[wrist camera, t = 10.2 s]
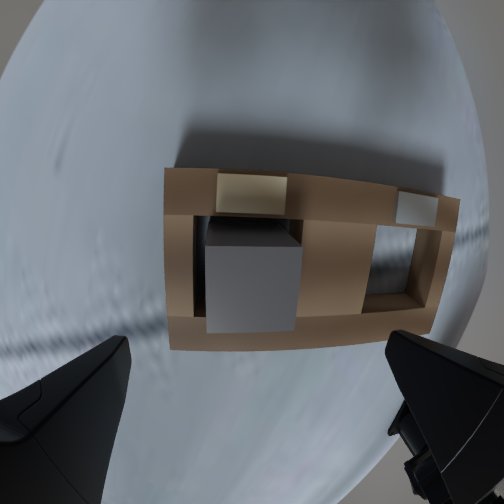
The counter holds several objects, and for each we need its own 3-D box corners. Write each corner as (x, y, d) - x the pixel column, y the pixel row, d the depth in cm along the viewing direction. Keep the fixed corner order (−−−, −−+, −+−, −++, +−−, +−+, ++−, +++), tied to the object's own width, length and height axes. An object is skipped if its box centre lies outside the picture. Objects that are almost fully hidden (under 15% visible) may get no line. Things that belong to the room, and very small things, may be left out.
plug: (272, 286, 20) (294, 330, 14) (208, 286, 19) (206, 333, 14) (276, 223, 19) (303, 246, 13) (208, 222, 18) (205, 246, 12)
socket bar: (411, 317, 22) (431, 335, 19) (175, 326, 20) (169, 352, 17) (435, 194, 19) (462, 199, 16) (173, 168, 17) (163, 167, 14)
